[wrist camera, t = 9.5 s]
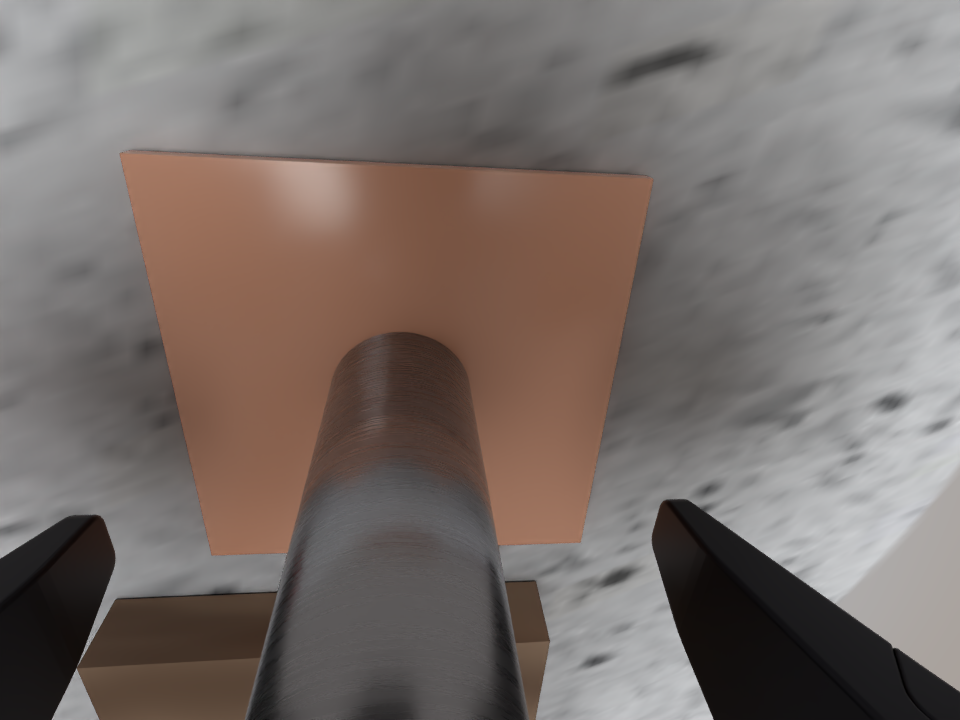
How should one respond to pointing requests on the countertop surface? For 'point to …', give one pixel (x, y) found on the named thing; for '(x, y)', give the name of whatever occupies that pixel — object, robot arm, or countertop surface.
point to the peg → (393, 556)
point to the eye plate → (228, 654)
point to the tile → (385, 317)
